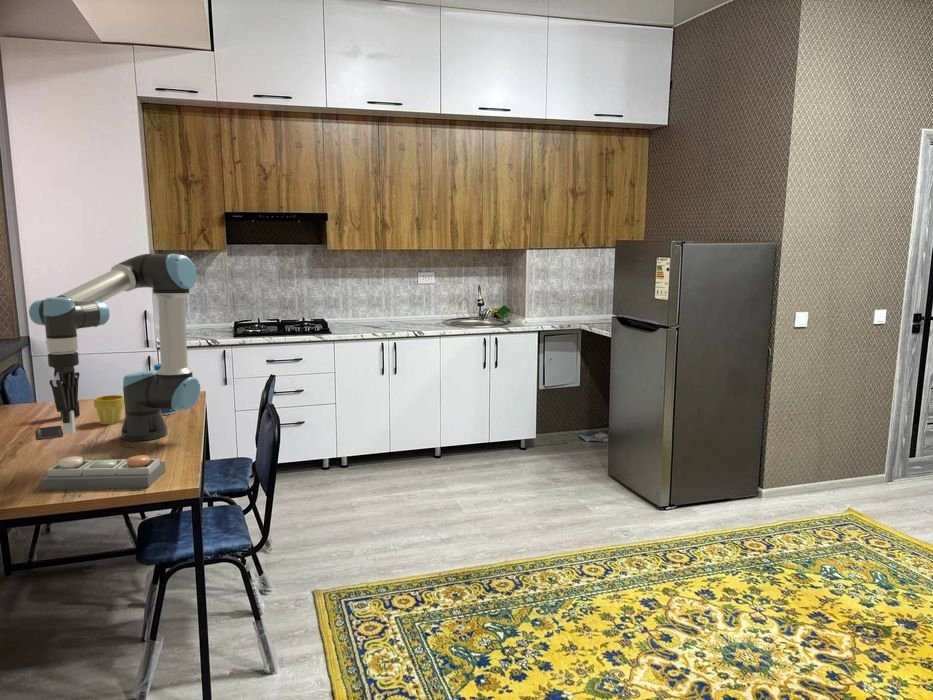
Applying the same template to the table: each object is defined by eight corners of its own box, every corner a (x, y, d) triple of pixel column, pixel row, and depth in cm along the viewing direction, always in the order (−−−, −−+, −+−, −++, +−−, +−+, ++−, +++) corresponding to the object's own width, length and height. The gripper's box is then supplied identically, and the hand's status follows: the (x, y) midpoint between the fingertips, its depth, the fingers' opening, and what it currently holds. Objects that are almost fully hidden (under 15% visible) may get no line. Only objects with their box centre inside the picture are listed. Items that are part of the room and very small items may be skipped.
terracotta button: (132, 461, 206) (131, 455, 206) (153, 460, 207) (152, 455, 206) (123, 467, 200) (123, 461, 200) (145, 467, 201) (145, 461, 200)
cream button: (65, 462, 205) (64, 456, 204) (86, 462, 205) (86, 456, 205) (54, 469, 199) (54, 463, 198) (76, 468, 199) (76, 462, 199)
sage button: (99, 465, 206) (98, 459, 205) (120, 465, 206) (119, 459, 206) (89, 472, 200) (89, 466, 199) (111, 471, 200) (111, 465, 200)
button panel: (66, 473, 209) (64, 457, 208) (165, 471, 211) (164, 456, 211) (41, 489, 195) (40, 473, 195) (148, 487, 198) (147, 471, 197)
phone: (37, 437, 244) (37, 428, 256) (37, 441, 244) (37, 431, 257) (63, 434, 248) (61, 425, 261) (63, 437, 248) (61, 428, 261)
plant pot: (130, 418, 274) (128, 394, 272) (118, 425, 263) (116, 400, 262) (103, 418, 273) (101, 394, 272) (90, 425, 263) (88, 400, 262)
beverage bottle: (180, 410, 288) (177, 362, 285) (172, 415, 279) (169, 366, 276) (159, 410, 287) (156, 362, 284) (151, 415, 279) (148, 366, 276)
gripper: (60, 348, 203) (66, 427, 207) (36, 355, 190) (44, 439, 194) (87, 348, 204) (93, 426, 207) (65, 355, 191) (72, 439, 194)
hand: (69, 433), depth 200 cm, fingers closed
